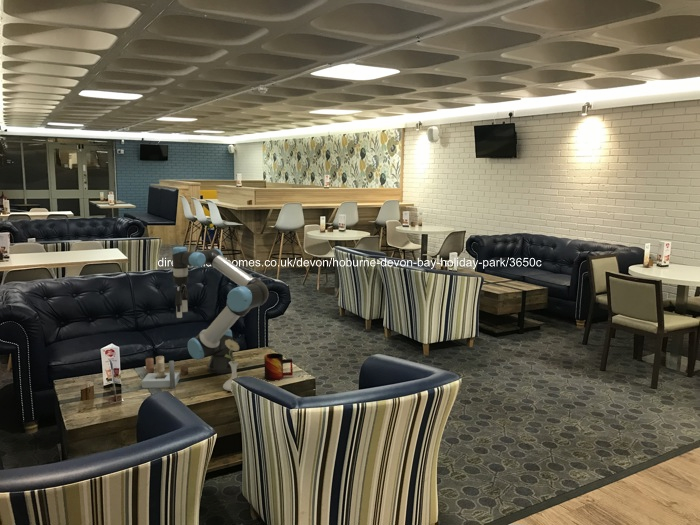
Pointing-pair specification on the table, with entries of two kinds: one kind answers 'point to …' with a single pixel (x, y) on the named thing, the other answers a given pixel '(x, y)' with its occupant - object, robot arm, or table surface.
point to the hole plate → (168, 381)
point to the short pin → (184, 370)
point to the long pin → (160, 367)
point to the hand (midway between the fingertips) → (182, 314)
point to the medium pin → (149, 365)
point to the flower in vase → (231, 363)
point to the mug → (276, 366)
